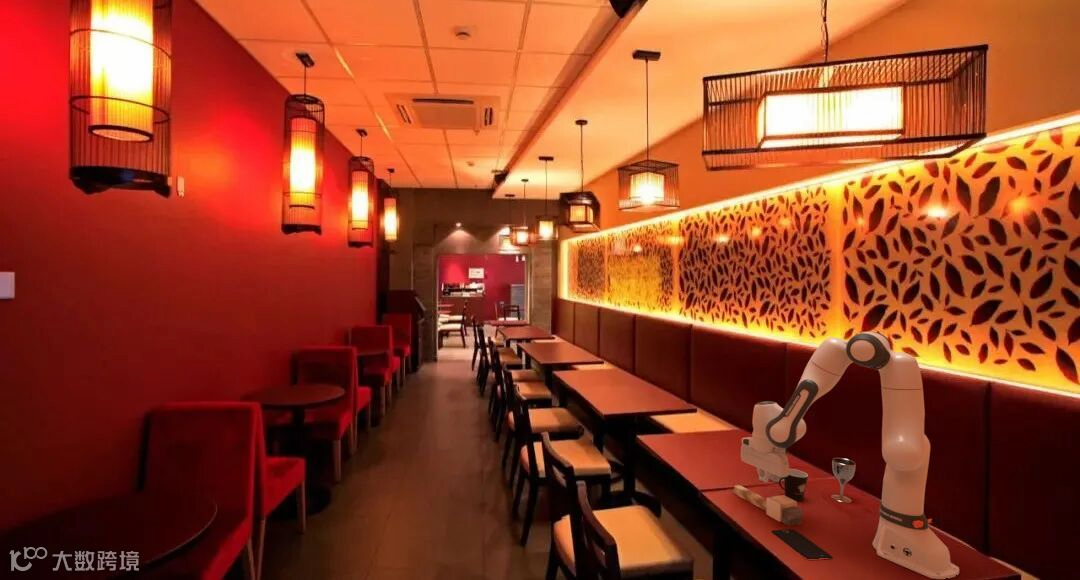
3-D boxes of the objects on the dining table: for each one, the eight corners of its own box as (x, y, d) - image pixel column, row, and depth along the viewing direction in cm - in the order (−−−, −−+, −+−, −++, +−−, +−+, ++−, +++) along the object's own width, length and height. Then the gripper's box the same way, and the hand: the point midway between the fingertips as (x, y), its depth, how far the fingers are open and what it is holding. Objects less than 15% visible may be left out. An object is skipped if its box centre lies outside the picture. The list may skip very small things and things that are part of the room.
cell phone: (794, 531, 180) (794, 528, 180) (833, 560, 162) (833, 557, 162) (771, 532, 178) (771, 529, 178) (808, 561, 161) (808, 558, 160)
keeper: (795, 518, 188) (796, 501, 188) (779, 521, 185) (780, 504, 185) (782, 511, 194) (783, 494, 194) (765, 514, 191) (766, 497, 190)
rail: (801, 523, 185) (802, 509, 185) (789, 526, 182) (789, 512, 182) (742, 491, 211) (742, 479, 210) (730, 493, 208) (731, 481, 208)
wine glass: (833, 501, 206) (836, 463, 205) (827, 493, 214) (829, 456, 213) (855, 504, 204) (858, 466, 204) (849, 496, 212) (851, 459, 211)
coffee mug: (801, 494, 211) (802, 469, 211) (809, 503, 202) (811, 478, 202) (771, 491, 212) (772, 467, 212) (778, 500, 204) (780, 475, 203)
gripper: (793, 451, 189) (792, 490, 189) (750, 436, 208) (749, 471, 208) (780, 453, 187) (779, 492, 187) (738, 437, 205) (737, 473, 205)
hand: (763, 481), depth 197 cm, fingers closed
